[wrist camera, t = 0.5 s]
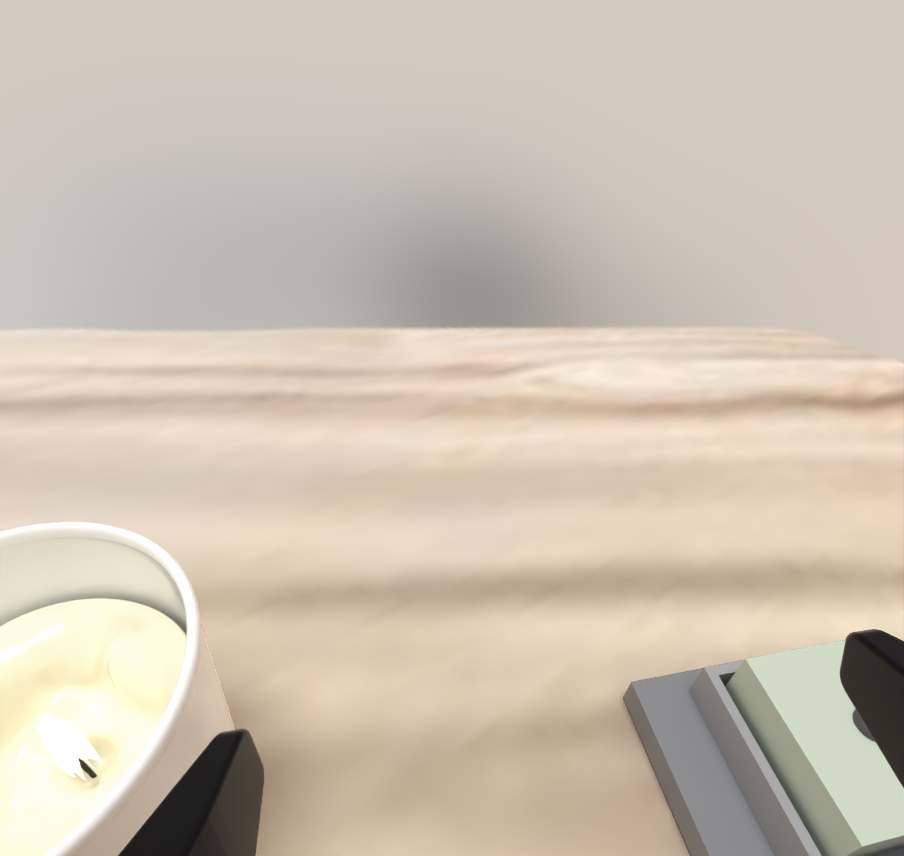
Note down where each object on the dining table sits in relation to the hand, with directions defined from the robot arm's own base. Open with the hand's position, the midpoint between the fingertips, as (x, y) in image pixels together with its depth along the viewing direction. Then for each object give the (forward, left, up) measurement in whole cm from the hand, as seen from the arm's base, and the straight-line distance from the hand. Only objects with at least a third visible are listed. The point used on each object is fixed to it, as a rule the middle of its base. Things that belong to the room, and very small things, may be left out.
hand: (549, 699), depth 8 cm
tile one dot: (+2, -14, -14) cm, 20 cm away
